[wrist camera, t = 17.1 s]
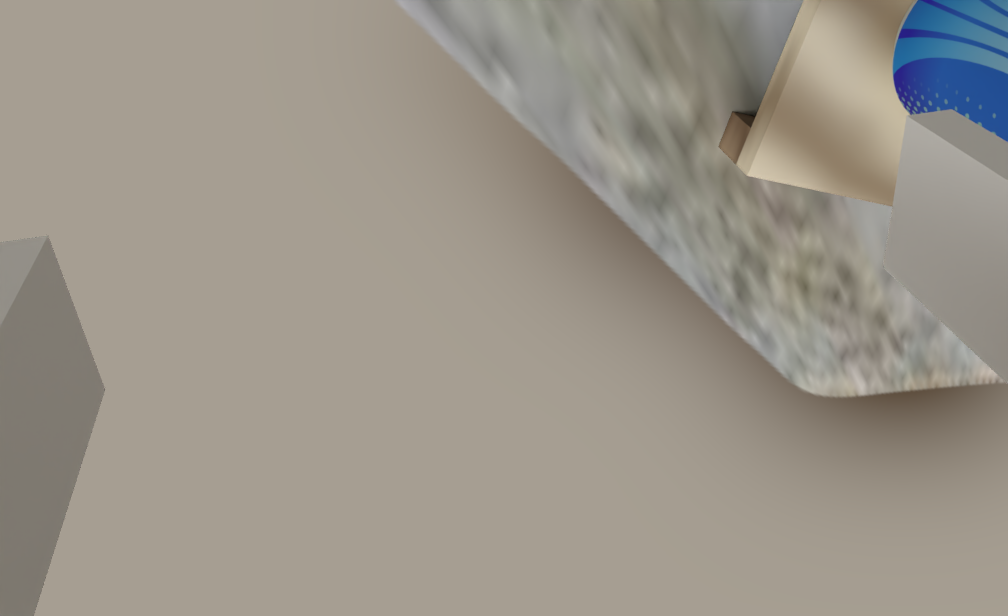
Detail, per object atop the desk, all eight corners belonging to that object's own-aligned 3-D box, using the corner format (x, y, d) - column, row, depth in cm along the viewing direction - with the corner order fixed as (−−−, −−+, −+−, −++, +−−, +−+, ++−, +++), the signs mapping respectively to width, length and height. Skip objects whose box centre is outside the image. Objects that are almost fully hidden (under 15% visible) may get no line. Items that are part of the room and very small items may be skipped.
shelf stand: (865, -223, 43) (913, -219, 39) (1104, -137, 47) (1166, -127, 43) (718, 146, 51) (747, 175, 48) (932, 193, 55) (972, 223, 52)
